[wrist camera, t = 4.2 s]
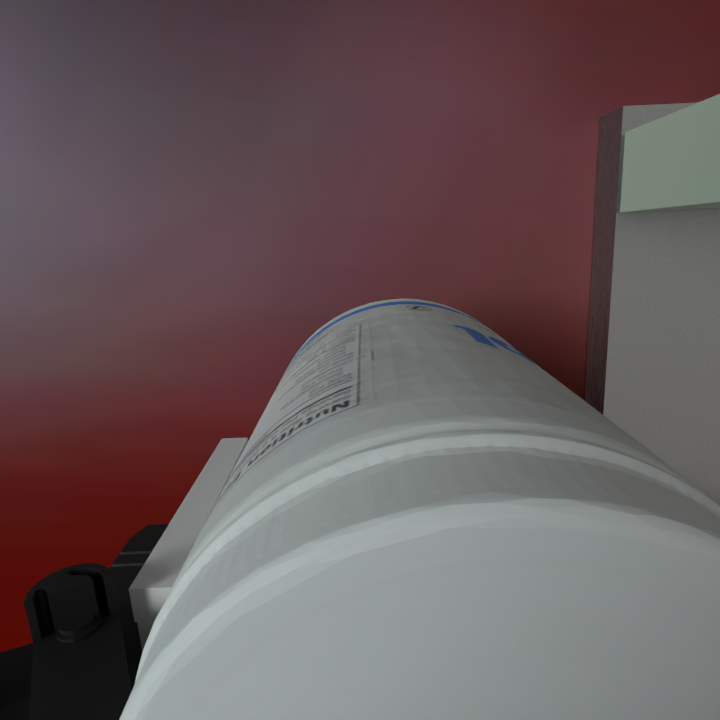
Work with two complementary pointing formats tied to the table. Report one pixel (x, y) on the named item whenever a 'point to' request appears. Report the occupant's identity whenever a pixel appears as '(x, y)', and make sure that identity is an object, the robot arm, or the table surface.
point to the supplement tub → (439, 549)
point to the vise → (655, 316)
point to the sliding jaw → (674, 161)
